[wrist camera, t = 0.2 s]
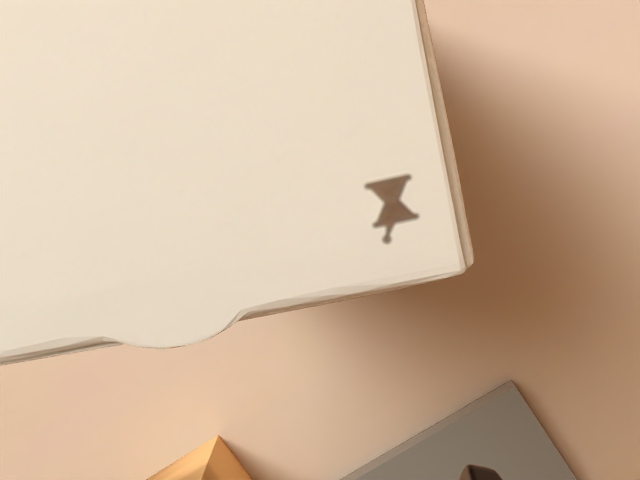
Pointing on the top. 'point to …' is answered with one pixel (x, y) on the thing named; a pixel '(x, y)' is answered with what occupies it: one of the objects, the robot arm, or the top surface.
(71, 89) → the skincare box
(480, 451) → the slate coaster
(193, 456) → the oak cube
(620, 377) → the top surface
